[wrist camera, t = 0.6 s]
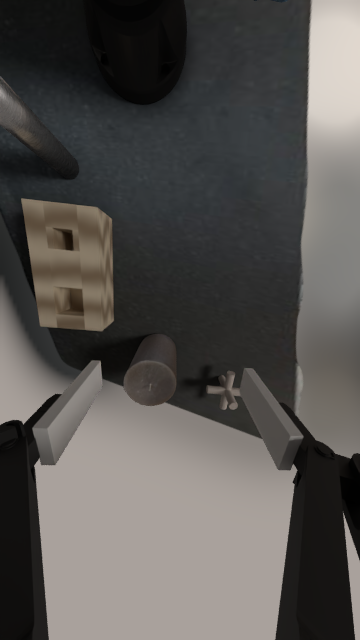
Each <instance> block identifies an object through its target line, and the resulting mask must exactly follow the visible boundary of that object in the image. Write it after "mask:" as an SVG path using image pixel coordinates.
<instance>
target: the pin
mask: <svg viewBox="0 0 360 640" xmlns="http://www.w3.org/2000/svg"><path fill="white" fill-rule="evenodd" d="M0 125H1V126H2V127H3V128H5V129H6V130H7V131H8V132H9V133H11V134H12V135H13V136H14V137H16V138H17V139H18V140H19V141H20V142H22V143H23V144H24V145H25V146H26V147H28V148H29V149H30V150H31V151H33V152H34V153H35V154H36V155H37V156H39V157H40V158H41V159H42V160H44V161H45V162H46V163H47V164H48V165H50V166H51V167H52V168H53V169H54V170H56V171H57V172H58V173H59V174H61V175H62V176H63V177H64V178H66V179H74V178H76V177H77V175H78V173H79V165H78V162H77V160H76V159H75V158H74V157H73V156H72V155H71V153H70V152H69V151H68V150H67V149H66V148H65V147H64V146H63V145H62V144H61V142H60V141H59V140H58V139H57V138H56V137H55V136H54V135H53V134H52V133H51V131H50V130H49V129H48V128H47V127H46V126H45V125H44V124H43V123H42V122H41V120H40V119H39V118H38V117H37V116H36V115H35V114H34V113H33V112H32V111H31V109H30V108H29V107H28V106H27V105H26V104H25V103H24V102H23V101H22V99H21V98H20V97H19V96H18V95H17V94H16V93H15V92H14V91H13V90H12V88H11V87H10V86H9V85H8V84H7V83H6V82H5V81H4V80H3V79H2V77H1V76H0Z"/></svg>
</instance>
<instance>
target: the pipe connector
mask: <svg viewBox="0 0 360 640" xmlns="http://www.w3.org/2000/svg"><path fill="white" fill-rule="evenodd" d="M234 376H235V373H234V372H232V371H228V372H227V375H226V379H225V377H224V376H223V375H220V376H219V377H218V379H219V382H220V384H221V386H210V385H207V387H206V392H207V393H210V394H222V396H221V401H220V405H219V407H220V408H221V409H223V410H225V409H226V408H227V404H228V405H229V407H230V409H236V408H237V407H238V405H237V403H236V401H235V398H234V396H241V395H240V393H239V391H240V388H232V384H233V380H234Z"/></svg>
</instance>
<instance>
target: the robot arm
mask: <svg viewBox="0 0 360 640" xmlns="http://www.w3.org/2000/svg"><path fill="white" fill-rule="evenodd" d="M83 1H84V9H85V17H86V24H87V31H88V35H89V39H90V43H91V46H92V49H93V52H94V55H95V57H96V60H97V63H98V65H99V68H100V70H101V72H102V74H103V76H104V78H105V79H106V81H107V82H108V84H109V85H110V86H111V87H112V89H113V90H114V91H115V92H116V93H118V94H119V95H120V96H121V97H123V98H124V99H126V100H128V101H131V102H133V103H138V104H149V103H153V102H156V101H158V100H160V99H162V98H163V97H165V96H166V95H167V94H168V93H169V92H170V91H171V90H172V88H173V87H174V86H175V84H176V82H177V81H178V79H179V77H180V74H181V71H182V69H183V65H184V60H185V54H186V36H187V21H186V10H185V4H184V0H83ZM254 1H257V0H254ZM272 1H276V2H285V1H287V0H272ZM101 388H102V373H101V361H94V360H92V361H91V362H90V363H89V364H88V365H87V366H86V368H85V369H84V370H83V371H82V372H81V373H80V375H79V376H78V377H77V378H76V379H75V380H74V381H73V382H72V383H71V385H70V386H69V387H68V388H67V389H66V390H65V391H64V393H63V394H55V395H53V396H52V397H50V398H49V399H48V400H46V402H45V403H44V404H43V405H42V406H41V407H40V408H39V409H38V410H37V412H35V413H34V414H33V415H32V416H31V417H30V418H29V419H28V420H27V421H26V422H25V423H24V425H23V423H22V422H21V421H19V420H12V421H8V422H5V423H3V424H1V425H0V640H49V637H48V625H47V613H46V600H45V588H44V577H43V563H42V550H41V538H40V526H39V513H38V501H37V489H36V476H35V467H34V465H35V463H36V462H37V461H38V459H39V458H40V462H41V465H55V464H56V463H57V461H58V460H59V458H60V456H61V455H62V453H63V451H64V450H65V448H66V446H67V445H68V443H69V441H70V440H71V438H72V436H73V435H74V433H75V431H76V430H77V428H78V426H79V425H80V423H81V421H82V420H83V418H84V417H85V415H86V413H87V411H88V410H89V408H90V407H91V405H92V403H93V401H94V400H95V398H96V397H97V395H98V393H99V392H100V390H101ZM239 393H240V395H241V397H242V399H243V401H244V403H245V405H246V407H247V409H248V411H249V413H250V415H251V417H252V419H253V421H254V423H255V425H256V427H257V429H258V431H259V433H260V435H261V437H262V439H263V441H264V443H265V445H266V447H267V449H268V451H269V452H270V455H271V457H272V458H273V460H274V463H275V464H276V466H277V469H278V470H291V467H292V465H293V464H294V465H295V467H296V468H297V470H298V471H297V473H296V476H295V478H294V480H293V483H294V484H295V486H294V494H293V502H292V511H291V518H290V527H289V535H288V543H287V551H286V559H285V567H284V575H283V583H282V591H281V599H280V607H279V615H278V623H277V631H276V639H275V640H355V634H354V624H353V613H352V602H351V593H350V582H349V571H348V560H347V550H346V539H345V529H344V518H343V512H344V515H345V518H346V521H347V524H348V527H349V530H350V533H351V536H352V539H353V542H354V545H355V548H356V550H357V554H358V557H359V560H360V454H358V453H356V454H353V456H352V458H351V459H350V458H347V457H344V456H341V455H337V454H335V453H334V452H333V450H331V449H330V448H329V447H328V446H326V445H325V444H323V443H321V442H319V441H316V440H315V438H314V437H313V436H312V435H311V433H310V432H309V431H308V430H307V428H306V427H305V426H304V425H303V424H302V422H301V421H300V420H299V419H298V417H297V416H295V414H294V412H293V411H292V410H291V409H290V408H289V407H288V406H287V405H285V404H284V403H278V402H277V400H276V399H275V398H274V396H273V395H272V394H271V392H270V391H269V390H268V388H267V387H266V386H265V384H264V383H263V382H262V380H261V379H260V378H259V376H258V375H257V374H256V372H255V371H254V370H253V368H244V373H243V377H242V382H241V387H240V391H239Z"/></svg>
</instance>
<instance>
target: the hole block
mask: <svg viewBox="0 0 360 640" xmlns="http://www.w3.org/2000/svg"><path fill="white" fill-rule="evenodd" d="M22 206H23V213H24V220H25V226H26V233H27V240H28V247H29V253H30V260H31V267H32V274H33V281H34V287H35V294H36V301H37V308H38V314H39V321H40V326H42V327H55V328H68V329H81V330H94V331H102V330H104V329H105V328H106V327H107V326H108V325H109V324H111V323H112V322H113V321H114V315H113V256H112V219H111V218H110V217H109V216H107V215H106V214H105V213H104V212H102V211H101V210H100V209H98V208H97V207H90V206H81V205H73V204H64V203H56V202H47V201H38V200H30V199H22Z"/></svg>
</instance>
